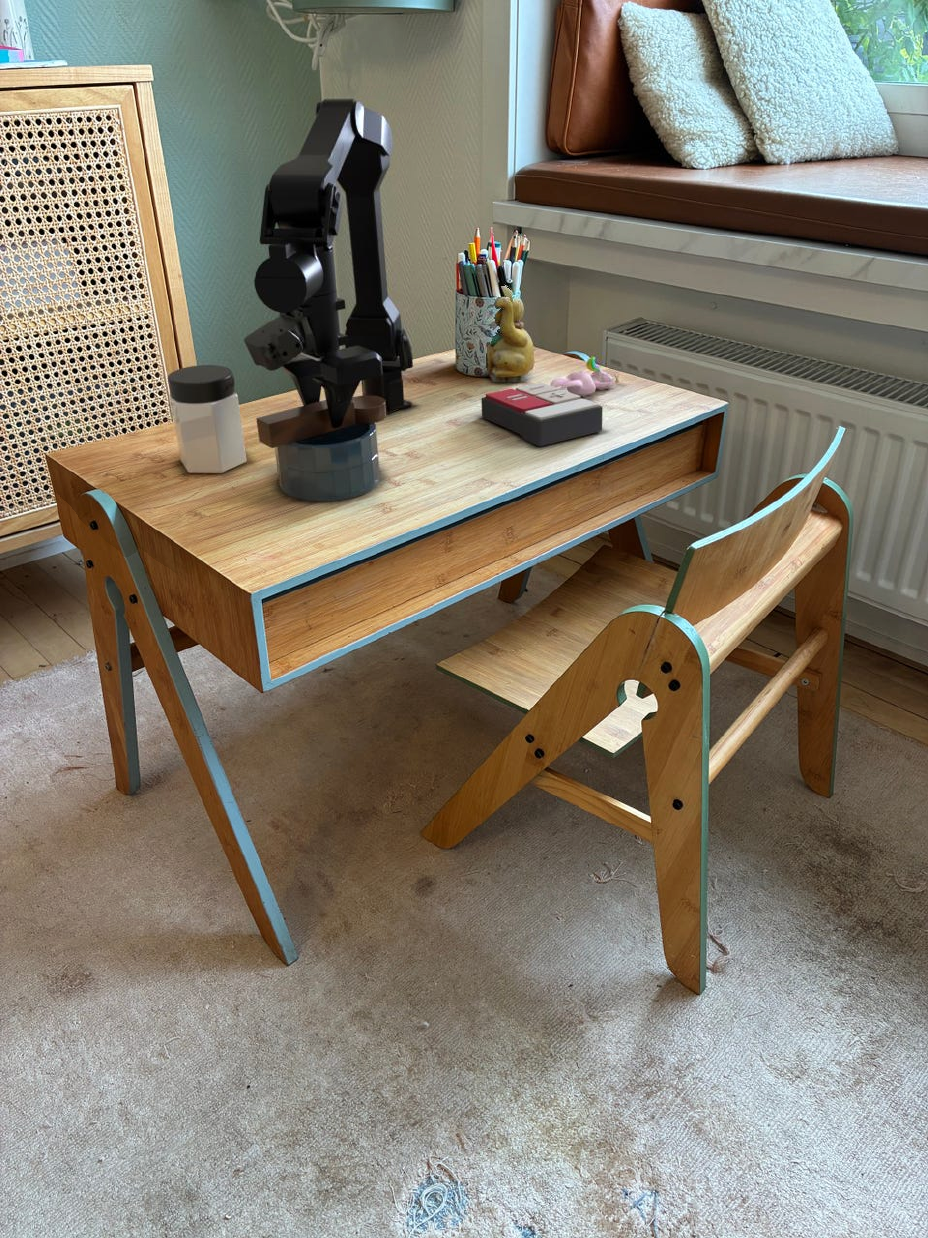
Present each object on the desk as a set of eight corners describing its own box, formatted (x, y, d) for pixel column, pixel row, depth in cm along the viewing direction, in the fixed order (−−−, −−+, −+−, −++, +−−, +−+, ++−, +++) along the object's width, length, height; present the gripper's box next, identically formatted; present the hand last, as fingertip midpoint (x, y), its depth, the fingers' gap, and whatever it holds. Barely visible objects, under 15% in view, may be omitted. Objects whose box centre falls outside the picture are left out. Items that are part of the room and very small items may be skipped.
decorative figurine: (477, 370, 164) (476, 277, 156) (525, 366, 166) (526, 273, 158) (492, 387, 156) (492, 290, 148) (542, 383, 158) (544, 286, 150)
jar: (253, 467, 129) (240, 378, 123) (191, 479, 126) (175, 388, 120) (235, 446, 136) (223, 360, 130) (176, 456, 133) (160, 369, 127)
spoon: (276, 451, 115) (273, 426, 113) (254, 439, 118) (251, 415, 117) (394, 417, 124) (393, 394, 123) (370, 407, 128) (369, 384, 126)
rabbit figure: (593, 388, 159) (536, 396, 148) (598, 350, 157) (541, 356, 146) (625, 396, 155) (569, 405, 145) (631, 357, 153) (575, 363, 142)
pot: (261, 479, 126) (254, 427, 122) (343, 455, 132) (339, 404, 129) (314, 510, 117) (308, 455, 114) (399, 482, 124) (396, 429, 120)
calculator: (541, 379, 147) (604, 400, 136) (542, 407, 149) (603, 431, 138) (479, 392, 142) (538, 415, 131) (480, 421, 145) (539, 447, 133)
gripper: (210, 289, 115) (229, 418, 123) (293, 318, 102) (308, 459, 110) (292, 275, 121) (305, 398, 129) (380, 300, 108) (389, 435, 116)
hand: (324, 421), depth 121 cm, fingers open, 5 cm apart
